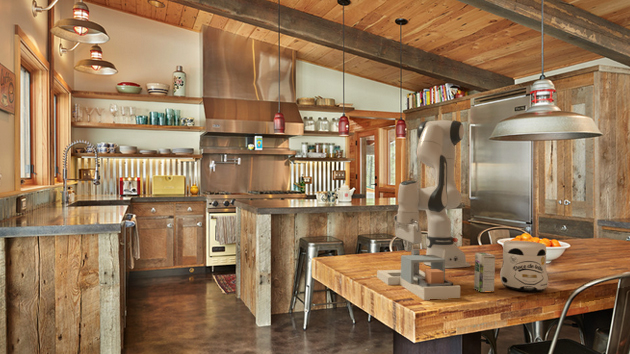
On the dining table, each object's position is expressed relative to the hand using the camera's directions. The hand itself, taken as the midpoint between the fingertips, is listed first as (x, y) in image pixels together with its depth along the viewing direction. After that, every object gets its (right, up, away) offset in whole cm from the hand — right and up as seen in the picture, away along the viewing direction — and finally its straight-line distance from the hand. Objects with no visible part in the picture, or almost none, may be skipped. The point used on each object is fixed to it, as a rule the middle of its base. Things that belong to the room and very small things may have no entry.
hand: (407, 250), depth 189 cm
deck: (0, -12, -14) cm, 18 cm away
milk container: (+43, -13, -14) cm, 47 cm away
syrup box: (+26, -13, -18) cm, 34 cm away
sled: (+3, -9, -18) cm, 20 cm away
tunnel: (+3, -9, -15) cm, 17 cm away
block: (+5, -9, -25) cm, 27 cm away
